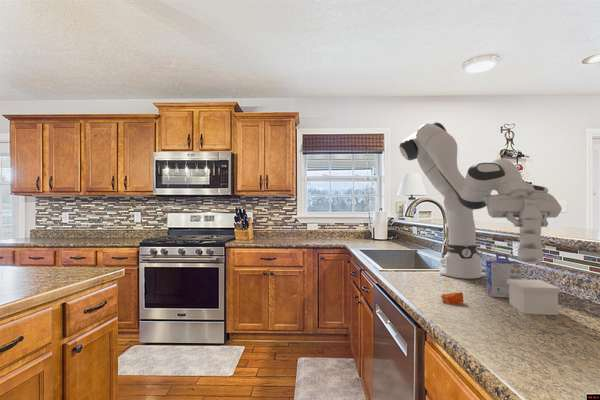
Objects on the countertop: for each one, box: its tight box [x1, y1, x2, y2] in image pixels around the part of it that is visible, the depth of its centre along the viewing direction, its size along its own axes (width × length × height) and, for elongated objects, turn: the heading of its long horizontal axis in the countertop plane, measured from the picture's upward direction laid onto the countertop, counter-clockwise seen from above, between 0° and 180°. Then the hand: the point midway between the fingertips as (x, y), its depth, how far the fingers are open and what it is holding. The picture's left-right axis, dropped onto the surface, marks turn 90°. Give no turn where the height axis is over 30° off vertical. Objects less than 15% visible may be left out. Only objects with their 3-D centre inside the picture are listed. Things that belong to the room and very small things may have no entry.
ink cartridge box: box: [485, 253, 523, 299], centre depth 111 cm, size 10×6×14 cm, turn 78°
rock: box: [440, 291, 464, 306], centre depth 105 cm, size 12×12×4 cm
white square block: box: [507, 279, 562, 316], centre depth 97 cm, size 10×10×8 cm
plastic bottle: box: [517, 199, 545, 265], centre depth 97 cm, size 6×7×20 cm
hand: (531, 225), depth 96 cm, fingers closed on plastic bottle, 6 cm apart
